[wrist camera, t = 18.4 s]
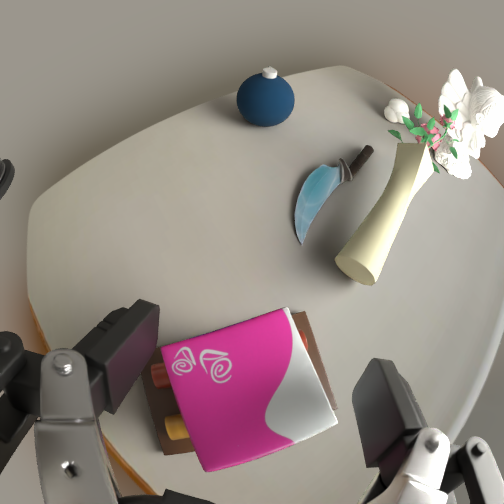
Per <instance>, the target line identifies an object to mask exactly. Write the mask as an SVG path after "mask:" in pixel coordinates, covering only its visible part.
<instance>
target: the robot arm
mask: <svg viewBox="0 0 504 504" xmlns="http://www.w3.org/2000/svg"><path fill="white" fill-rule="evenodd" d="M5 173H6V165H5V164H4V162H3V161H2V160H1V158H0V184H1V182H2V180H3V178H4V176H5ZM159 314H160V307H159V305H156V304H153V303H151V302H148V301H145V300H142V299H138V300H137V301H136V302H135V303H134V304H133V305H132V306H131V307H130V308H129V309H127V308H124V307H122V308H120V309H117V310H114V311H112V312H111V313H109V314H108V315H107V316H106V317H105V318H104V319H103V321H101V322H100V323H99V324H98V325H97V327H94V328H93V329H92V330H91V331H90V332H89V333H88V334H87V335H86V336H85V337H84V338H83V339H82V340H81V341H80V342H79V343H78V344H76V345H75V346H74V347H73V348H72V349H67V348H59V349H55V350H52V351H50V352H48V353H47V354H46V355H45V356H44V355H41V354H37V353H34V352H31V351H27V350H24V347H23V343H22V340H21V339H20V337H19V336H18V335H17V334H15V333H12V332H8V331H4V332H0V392H1V391H2V390H3V391H4V394H3V395H2V396H1V397H0V474H1V472H2V471H3V469H4V467H5V466H6V464H7V463H8V461H9V460H10V458H11V456H12V455H13V453H14V452H15V450H16V449H17V447H18V446H19V444H20V443H21V441H22V440H23V438H24V437H25V435H26V434H27V432H28V431H29V429H30V428H31V427H32V425H33V424H34V422H35V424H34V436H35V448H36V457H37V465H38V471H39V478H40V483H41V489H42V494H43V498H44V503H45V504H215V503H212V502H210V501H207V500H203V499H199V498H195V497H192V496H188V495H184V494H181V493H178V492H174V491H171V490H168V489H165V492H164V495H163V496H158V495H131V496H124V497H122V494H121V492H120V489H119V486H118V484H117V481H116V478H115V476H114V473H113V470H112V467H111V464H110V461H109V458H108V454H107V451H106V447H105V443H104V439H103V435H102V431H101V427H100V423H99V416H100V415H101V413H102V412H103V410H105V411H107V412H109V413H111V414H113V415H114V414H115V412H116V411H117V409H118V407H119V406H120V404H121V403H122V401H123V400H124V398H125V396H126V395H127V393H128V392H129V390H130V389H131V387H132V386H133V384H134V382H135V381H136V379H137V378H138V376H139V375H140V373H141V372H142V370H143V369H144V367H145V366H146V364H147V362H148V361H149V359H150V358H151V356H152V355H153V353H154V351H155V348H156V345H157V339H158V326H159ZM352 403H353V407H354V412H355V416H356V420H357V425H358V429H359V434H360V438H361V443H362V448H363V452H364V457H365V463H366V468H371V467H379V470H380V471H379V472H378V473H377V474H376V475H375V476H374V478H373V479H372V481H371V483H370V484H369V486H368V487H367V489H366V491H365V492H364V494H363V495H362V497H361V498H360V500H359V501H358V502H357V504H457V503H456V499H455V495H454V491H453V490H455V489H456V488H457V487H458V486H460V485H461V484H462V483H464V482H465V485H466V488H467V492H468V495H469V499H470V504H504V482H503V479H502V477H501V474H500V472H499V469H498V467H497V464H496V462H495V460H494V457H493V455H492V452H491V450H490V448H489V446H488V444H487V443H486V442H485V441H484V440H483V439H481V438H479V437H471V438H469V439H468V440H467V441H466V442H465V443H464V444H463V445H462V446H459V445H453V444H450V443H449V440H448V438H447V437H446V435H445V434H444V433H443V432H441V431H440V430H438V429H436V428H431V427H428V425H427V423H426V421H425V418H424V416H423V414H422V412H421V409H420V407H419V405H418V403H417V402H416V399H415V396H414V394H412V390H411V388H410V386H409V384H408V382H407V381H406V380H405V379H404V378H403V377H402V376H401V375H400V374H399V373H398V371H397V369H396V367H395V365H394V363H393V361H391V360H385V359H378V358H373V359H372V360H371V361H370V362H369V364H368V366H367V367H366V369H365V371H364V373H363V374H362V376H361V378H360V379H359V381H358V382H357V384H356V386H355V388H354V390H353V394H352ZM38 417H41V418H40V420H37V418H38Z"/></svg>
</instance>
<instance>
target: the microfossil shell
mask: <svg viewBox="0 0 504 504" xmlns="http://www.w3.org/2000/svg"><path fill="white" fill-rule="evenodd" d="M408 111H409V108H408V105H407V104H406V103H405V102H404V101H403V100H401V99H398V98H394V99H391V100H390V102H389V105H388V106H387V107H386V108H385V110H384V115H385V117H386V119H387V120H389V121H390V122H393V123H396V122H399V123H402V124H404V122H403V119H402V116H405V117H407V118H408V119H409V118H410V116H409V113H408ZM401 115H402V116H401Z"/></svg>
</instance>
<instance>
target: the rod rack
mask: <svg viewBox="0 0 504 504" xmlns="http://www.w3.org/2000/svg"><path fill="white" fill-rule="evenodd" d="M291 316H292V319H293V321H294V323H295V326H296V328H297V330H298V333H299V335H300V337H301V340H302V342H303V344H304V346H305V349H306V351H307V353H308V355H309V358H310V360H311V362H312V364H313V367H314V369H315V371H316V373H317V376H318V378H319V380H320V382H321V385H322V387H323V389H324V392H325V394H326V396H327V398H328V401H329V403H330V405H331V407H332V410H335V409H337V405H336V401H335V398H334V395H333V392H332V389H331V386H330V383H329V380H328V377H327V374H326V371H325V368H324V365H323V362H322V359H321V356H320V353H319V350H318V347H317V344H316V341H315V338H314V335H313V332H312V329H311V327H310V324H309V321H308V318H307V315H306V312H305V311H303V312H300V313H296V314H293V315H291ZM160 348H161V347H156V348H155V351H154V353H153V355H152V356H151V358H150V359H149V361H148V362H147V364H146V366H145V367H144V369H143V370H142V372H141V375H142V379H143V384H144V388H145V392H146V396H147V400H148V404H149V407H150V411H151V415H152V418H153V422H154V425H155V428H156V431H157V435H158V438H159V441H160V444H161V447H162V450H163V453H164V455H173V454H181V453H187V452H194V451H195V449H194V447H193V444H192V442H191V440H190V437H189V434H188V432H187V429H186V427H185V424H184V421H183V418H182V415H181V413H180V410H179V407H178V404H177V401H176V398H175V395H174V392H173V389H172V386H171V383H170V380H169V376H168V373H167V370H166V366H165V363H164V360H163V356H162V353H161V349H160Z"/></svg>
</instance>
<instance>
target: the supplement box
mask: <svg viewBox="0 0 504 504" xmlns="http://www.w3.org/2000/svg"><path fill="white" fill-rule="evenodd" d="M160 349H161V353H162V356H163V360H164V363H165V366H166V370H167V373H168V376H169V380H170V383H171V386H172V389H173V392H174V395H175V398H176V401H177V404H178V407H179V410H180V413H181V415H182V418H183V421H184V424H185V427H186V429H187V432H188V434H189V437H190V440H191V442H192V444H193V447H194V449H195V452H196V454H197V456H198V459H199V461H200V463H201V465H202V468H203V470H204V471H205V472H212V471H217V470H221V469H225V468H228V467H232V466H236V465H239V464H242V463H245V462H249V461H252V460H255V459H258V458H261V457H264V456H266V455H269V454H272V453H274V452H277V451H280V450H282V449H285V448H287V447H290V446H292V445H294V444H296V443H299V442H301V441H303V440H305V439H308V438H310V437H312V436H314V435H316V434H318V433H320V432H323V431H325V430H326V429H328V428H330V427H332V426H334V425H336V424H337V419H336V417H335V415H334V412H333V410H332V407H331V405H330V403H329V401H328V398H327V396H326V394H325V392H324V389H323V387H322V385H321V382H320V380H319V378H318V376H317V373H316V371H315V369H314V367H313V364H312V362H311V360H310V358H309V355H308V353H307V351H306V349H305V346H304V344H303V342H302V340H301V337H300V335H299V333H298V330H297V328H296V326H295V323H294V321H293V319H292V316H291V314H290V311H289V309H288V308H287V307H283V308H281V309H278V310H275V311H272V312H269V313H266V314H263V315H260V316H257V317H254V318H252V319H249V320H246V321H243V322H240V323H237V324H234V325H231V326H228V327H225V328H222V329H219V330H215V331H213V332H209V333H206V334H203V335H200V336H196V337H193V338H190V339H186V340H183V341H180V342H176V343H173V344H169V345H165V346H162V347H161V348H160Z"/></svg>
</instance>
